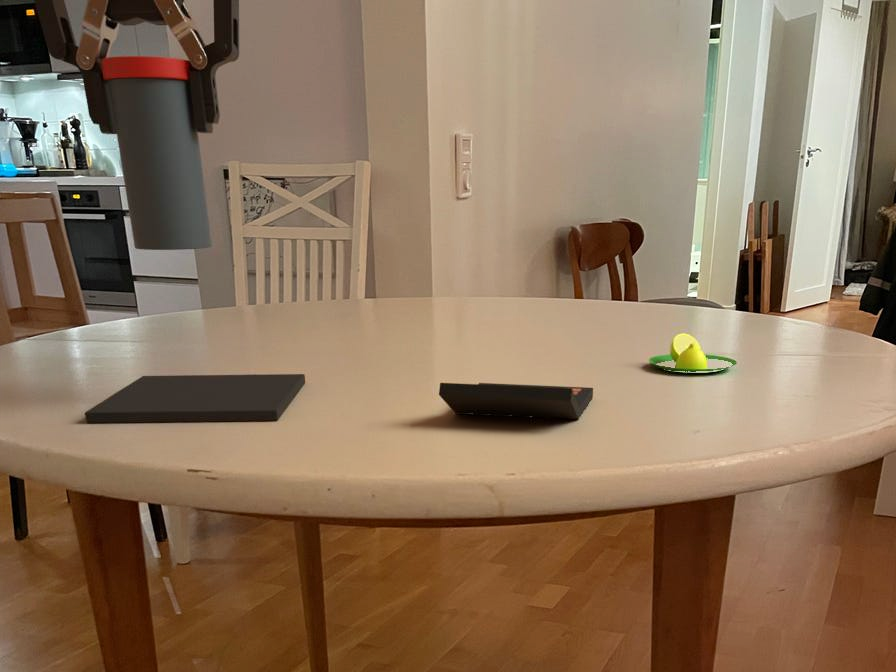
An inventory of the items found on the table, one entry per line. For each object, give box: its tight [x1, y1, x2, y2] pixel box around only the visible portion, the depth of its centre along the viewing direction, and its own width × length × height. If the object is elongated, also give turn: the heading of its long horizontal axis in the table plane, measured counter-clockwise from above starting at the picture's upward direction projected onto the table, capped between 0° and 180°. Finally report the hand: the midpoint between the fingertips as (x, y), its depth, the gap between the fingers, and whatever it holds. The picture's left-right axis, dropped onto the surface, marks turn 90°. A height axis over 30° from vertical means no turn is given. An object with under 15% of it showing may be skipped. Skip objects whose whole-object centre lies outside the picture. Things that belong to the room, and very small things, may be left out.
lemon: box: [648, 333, 738, 372], centre depth 84 cm, size 8×8×3 cm
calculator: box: [438, 382, 594, 420], centre depth 69 cm, size 9×12×3 cm
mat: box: [84, 373, 306, 424], centre depth 73 cm, size 14×14×1 cm
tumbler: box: [101, 55, 213, 251], centre depth 67 cm, size 6×6×12 cm
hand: (157, 132), depth 66 cm, fingers closed on tumbler, 6 cm apart
